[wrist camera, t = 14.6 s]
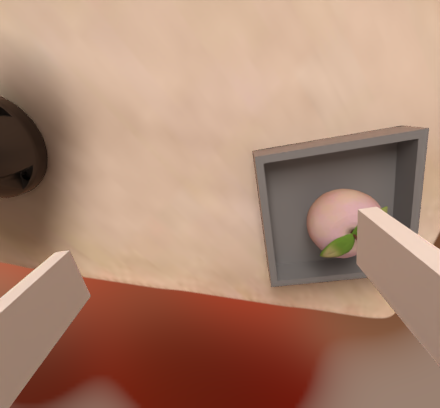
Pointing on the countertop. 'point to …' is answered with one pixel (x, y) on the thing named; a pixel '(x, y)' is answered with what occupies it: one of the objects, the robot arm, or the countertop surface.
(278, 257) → the bin
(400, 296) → the robot arm
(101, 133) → the countertop surface
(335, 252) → the decorative fruit
